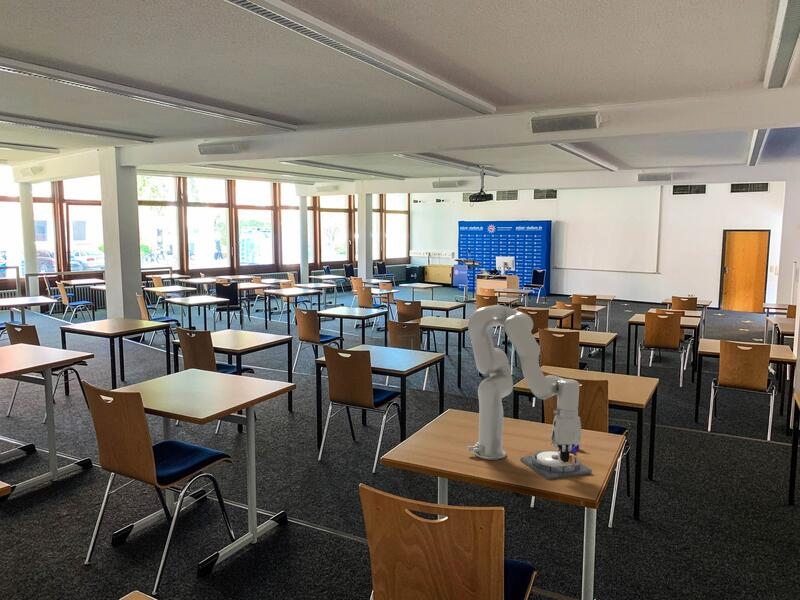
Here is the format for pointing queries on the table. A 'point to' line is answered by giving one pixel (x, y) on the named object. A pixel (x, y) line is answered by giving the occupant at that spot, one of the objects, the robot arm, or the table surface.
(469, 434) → the table surface
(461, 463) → the table surface
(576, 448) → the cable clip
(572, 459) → the dial
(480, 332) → the robot arm
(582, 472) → the panel
